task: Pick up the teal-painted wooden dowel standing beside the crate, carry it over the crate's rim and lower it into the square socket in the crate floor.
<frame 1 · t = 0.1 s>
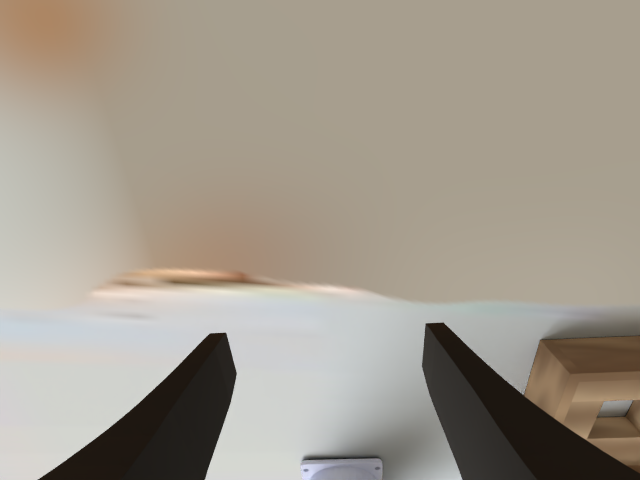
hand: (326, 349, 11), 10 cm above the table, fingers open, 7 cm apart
crate: (606, 399, 26), on the table
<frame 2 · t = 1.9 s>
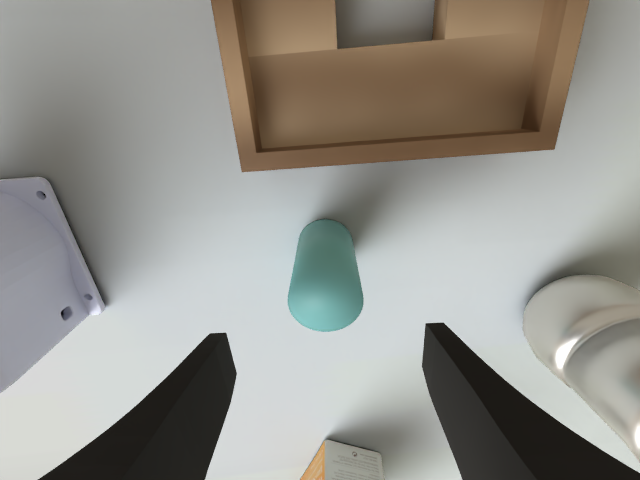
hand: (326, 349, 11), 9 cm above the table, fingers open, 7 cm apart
plastic bottle: (557, 302, 21), on the table
small box: (336, 466, 29), on the table
peg: (325, 244, 19), on the table
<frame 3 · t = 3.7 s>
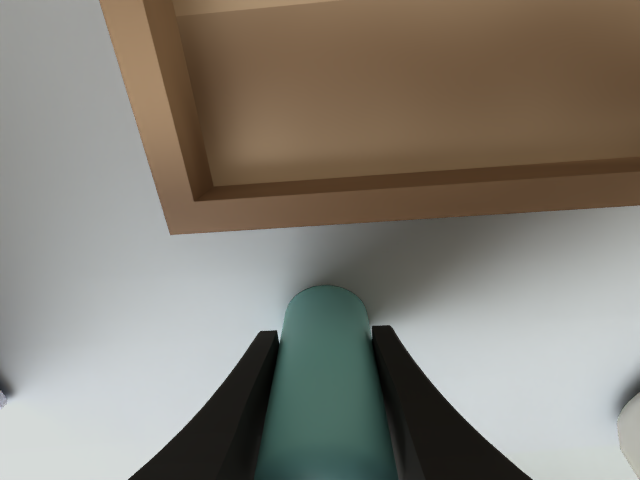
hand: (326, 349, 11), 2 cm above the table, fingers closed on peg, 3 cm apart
peg: (326, 320, 13), on the table, touching gripper
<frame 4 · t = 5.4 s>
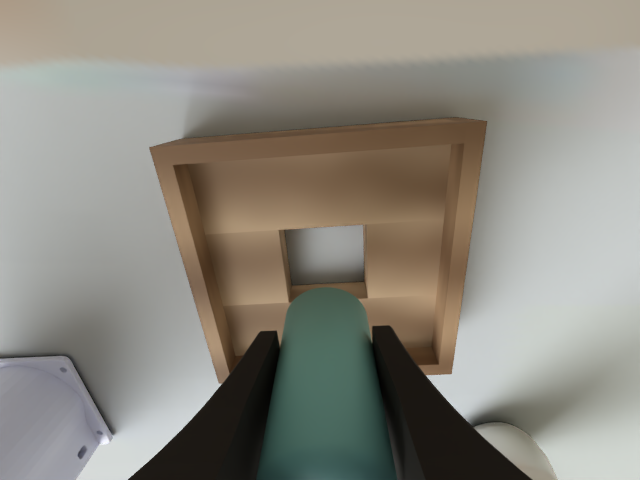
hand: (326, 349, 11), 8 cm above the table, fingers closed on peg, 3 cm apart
plastic bottle: (483, 434, 26), on the table
crate: (325, 251, 18), on the table
peg: (326, 321, 13), point 6 cm above the table, touching gripper
when the fingers open (3 cm above the table, at t = 7.3 s): peg stays where it is, resting in crate.
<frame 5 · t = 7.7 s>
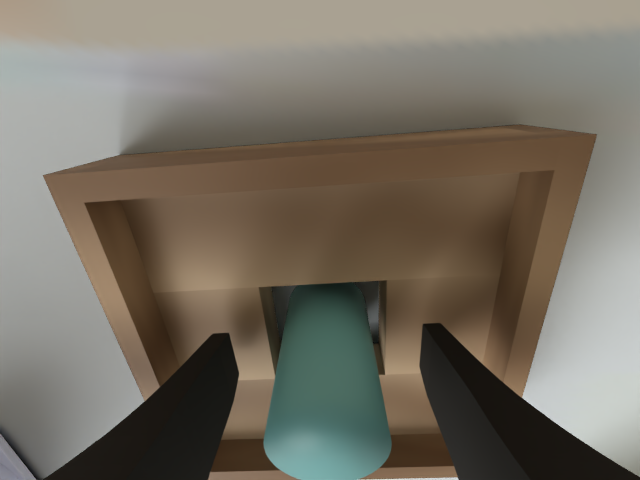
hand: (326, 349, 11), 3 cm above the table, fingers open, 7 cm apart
crate: (326, 305, 14), on the table
peg: (326, 307, 14), resting in crate
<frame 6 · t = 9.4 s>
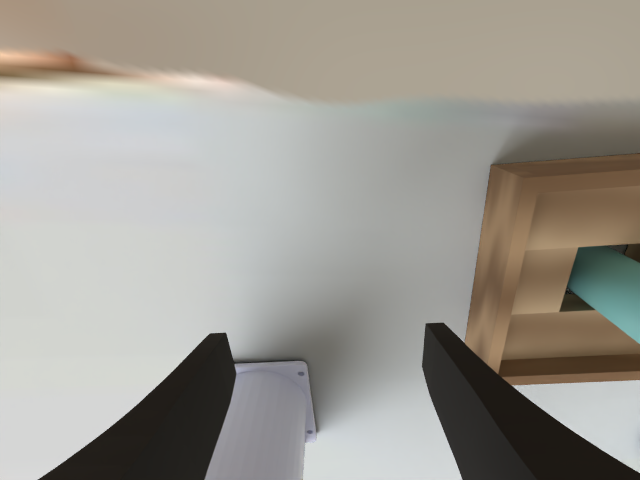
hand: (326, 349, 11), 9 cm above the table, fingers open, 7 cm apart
crate: (584, 264, 20), on the table
peg: (584, 265, 20), resting in crate
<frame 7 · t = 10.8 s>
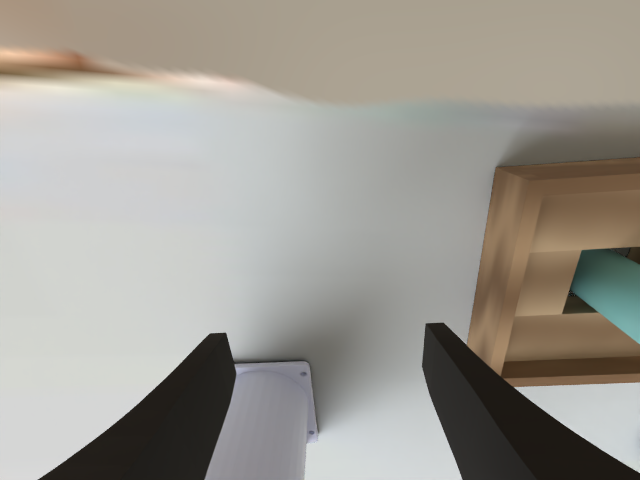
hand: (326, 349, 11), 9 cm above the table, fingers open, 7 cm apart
crate: (587, 266, 20), on the table
peg: (586, 268, 20), resting in crate
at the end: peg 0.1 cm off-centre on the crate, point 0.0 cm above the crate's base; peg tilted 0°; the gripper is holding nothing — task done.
